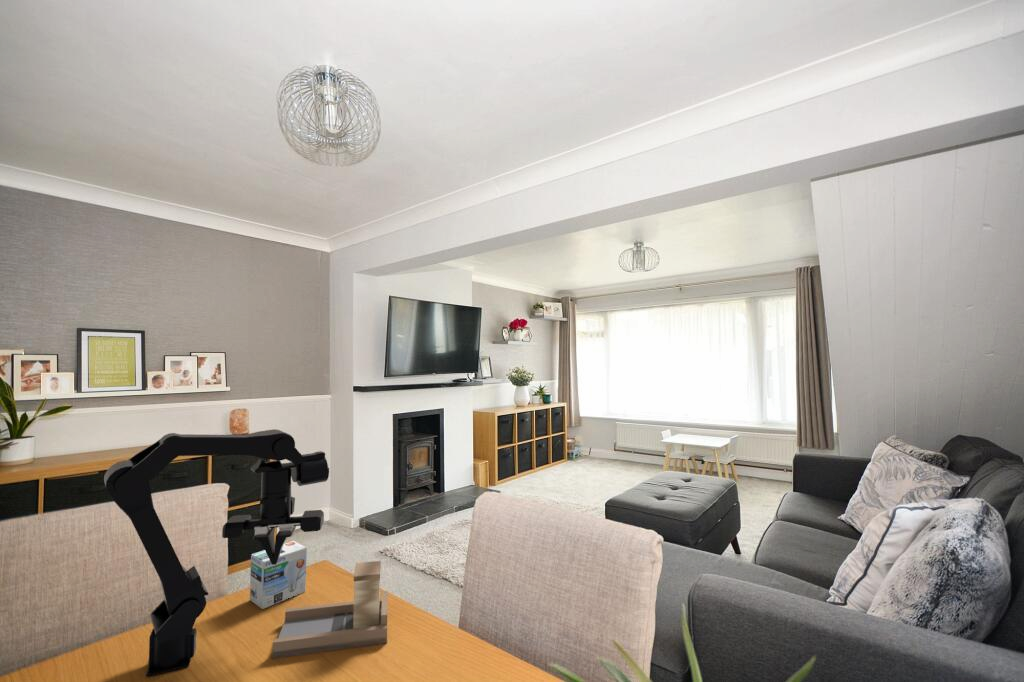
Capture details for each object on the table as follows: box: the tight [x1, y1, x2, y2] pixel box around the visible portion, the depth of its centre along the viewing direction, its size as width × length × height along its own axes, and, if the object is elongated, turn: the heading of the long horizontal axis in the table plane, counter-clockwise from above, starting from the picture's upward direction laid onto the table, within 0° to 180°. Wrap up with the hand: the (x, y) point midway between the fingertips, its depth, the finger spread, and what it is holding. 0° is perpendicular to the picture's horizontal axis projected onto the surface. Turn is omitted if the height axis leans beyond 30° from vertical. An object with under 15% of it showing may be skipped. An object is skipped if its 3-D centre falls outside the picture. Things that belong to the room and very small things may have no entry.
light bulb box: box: [249, 540, 308, 610], centre depth 113 cm, size 11×7×11 cm, turn 143°
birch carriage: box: [353, 560, 382, 629], centre depth 100 cm, size 5×6×11 cm
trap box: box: [272, 590, 389, 659], centre depth 98 cm, size 21×12×5 cm, turn 104°
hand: (274, 563), depth 101 cm, fingers closed
